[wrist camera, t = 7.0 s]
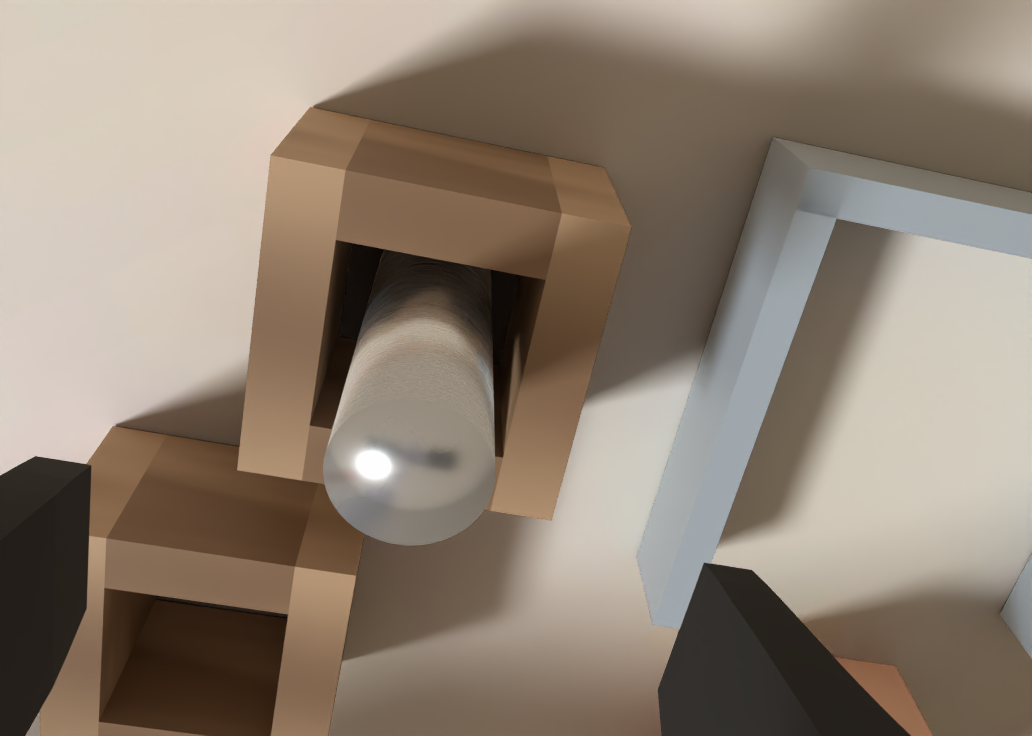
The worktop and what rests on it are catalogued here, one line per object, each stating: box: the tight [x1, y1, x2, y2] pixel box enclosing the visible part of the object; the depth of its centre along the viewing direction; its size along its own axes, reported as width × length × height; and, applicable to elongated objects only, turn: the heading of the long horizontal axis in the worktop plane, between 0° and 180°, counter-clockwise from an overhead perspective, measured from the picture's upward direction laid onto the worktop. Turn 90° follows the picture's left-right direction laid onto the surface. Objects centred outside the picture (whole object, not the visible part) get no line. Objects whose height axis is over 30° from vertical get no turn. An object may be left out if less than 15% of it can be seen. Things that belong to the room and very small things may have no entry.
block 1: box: [40, 426, 364, 736], centre depth 22 cm, size 6×6×4 cm
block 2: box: [237, 107, 632, 521], centre depth 19 cm, size 6×6×4 cm
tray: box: [637, 137, 1032, 659], centre depth 21 cm, size 11×11×2 cm
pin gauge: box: [323, 249, 495, 546], centre depth 17 cm, size 2×2×8 cm
